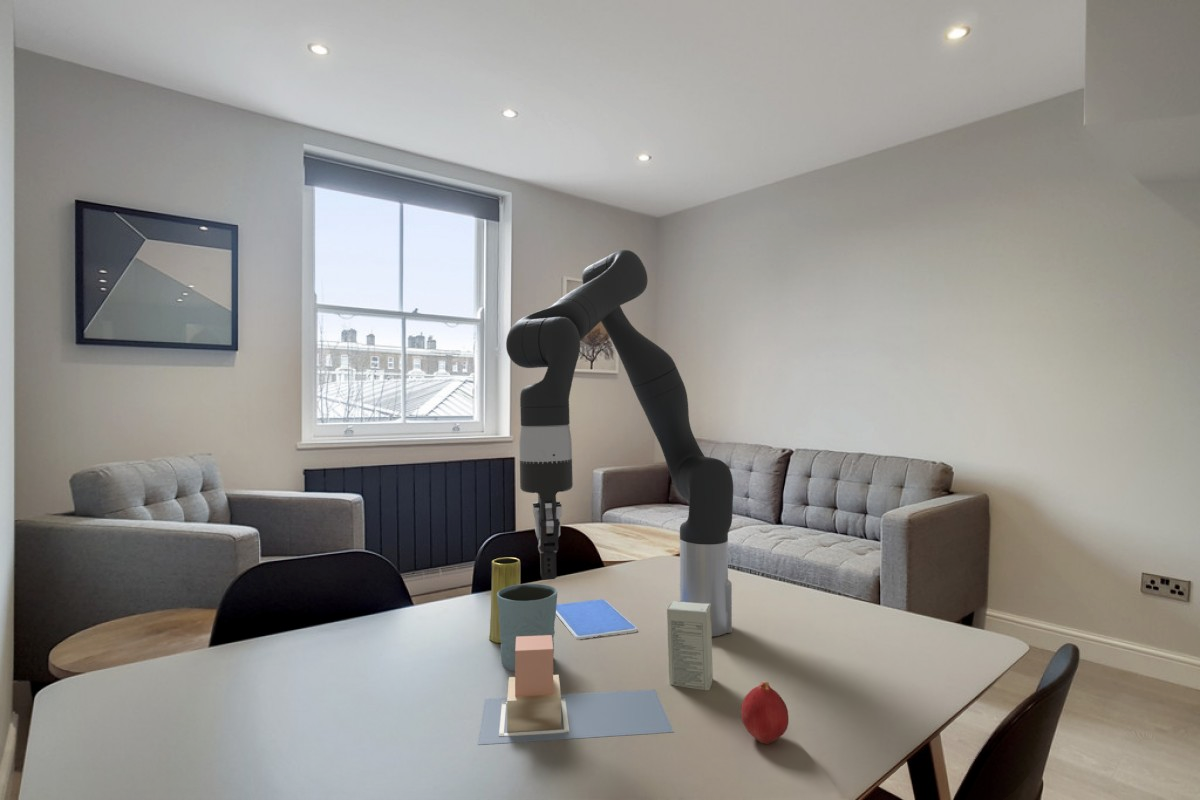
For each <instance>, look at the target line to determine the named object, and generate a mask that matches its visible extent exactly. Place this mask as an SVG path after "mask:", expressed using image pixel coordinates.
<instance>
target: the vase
mask: <svg viewBox="0 0 1200 800" xmlns="http://www.w3.org/2000/svg"><path fill="white" fill-rule="evenodd" d="M514 585H521V560H520V559H519V558H517V557H511V556H510V557H508V556H507V557H498V558H496V559H493V560H491V593H490V595H491V596H490V618H489V619H490V620H489V622H490V623H489V624H490V626H489V636H488V639H489V640H490V641H491V642H493V643H496V644H501V639H500V623H499V611H498V602H497V593H498V591H500V590H501V589H503V588H506V587H509V586H514Z"/></svg>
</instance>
